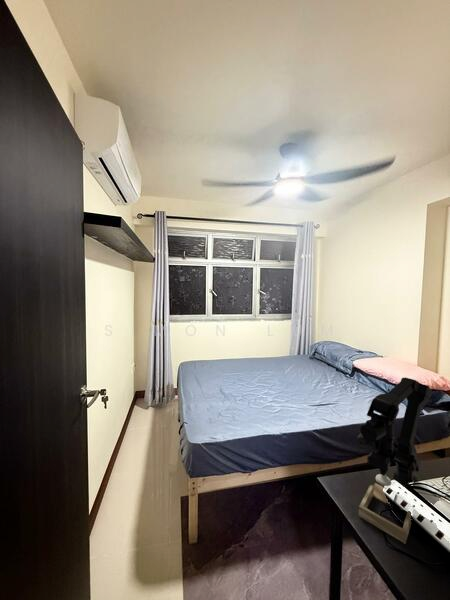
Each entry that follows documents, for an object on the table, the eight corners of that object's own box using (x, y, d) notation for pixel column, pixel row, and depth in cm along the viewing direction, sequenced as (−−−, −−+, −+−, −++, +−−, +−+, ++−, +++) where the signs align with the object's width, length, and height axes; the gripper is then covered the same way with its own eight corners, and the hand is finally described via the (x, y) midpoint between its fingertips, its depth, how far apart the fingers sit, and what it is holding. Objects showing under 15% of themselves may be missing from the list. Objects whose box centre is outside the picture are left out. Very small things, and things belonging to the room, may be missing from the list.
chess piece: (393, 487, 90) (394, 460, 90) (378, 485, 91) (379, 458, 91) (387, 476, 95) (388, 451, 94) (373, 475, 96) (373, 449, 95)
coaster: (375, 484, 98) (375, 482, 98) (396, 494, 93) (396, 493, 93) (369, 495, 93) (369, 493, 93) (391, 506, 88) (391, 505, 88)
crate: (370, 493, 94) (370, 484, 94) (413, 515, 85) (413, 505, 85) (358, 516, 85) (358, 506, 85) (405, 543, 76) (405, 532, 75)
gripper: (367, 415, 104) (367, 451, 105) (351, 434, 91) (351, 475, 92) (399, 425, 96) (399, 464, 97) (387, 448, 83) (386, 493, 84)
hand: (383, 473), depth 93 cm, fingers closed on chess piece
